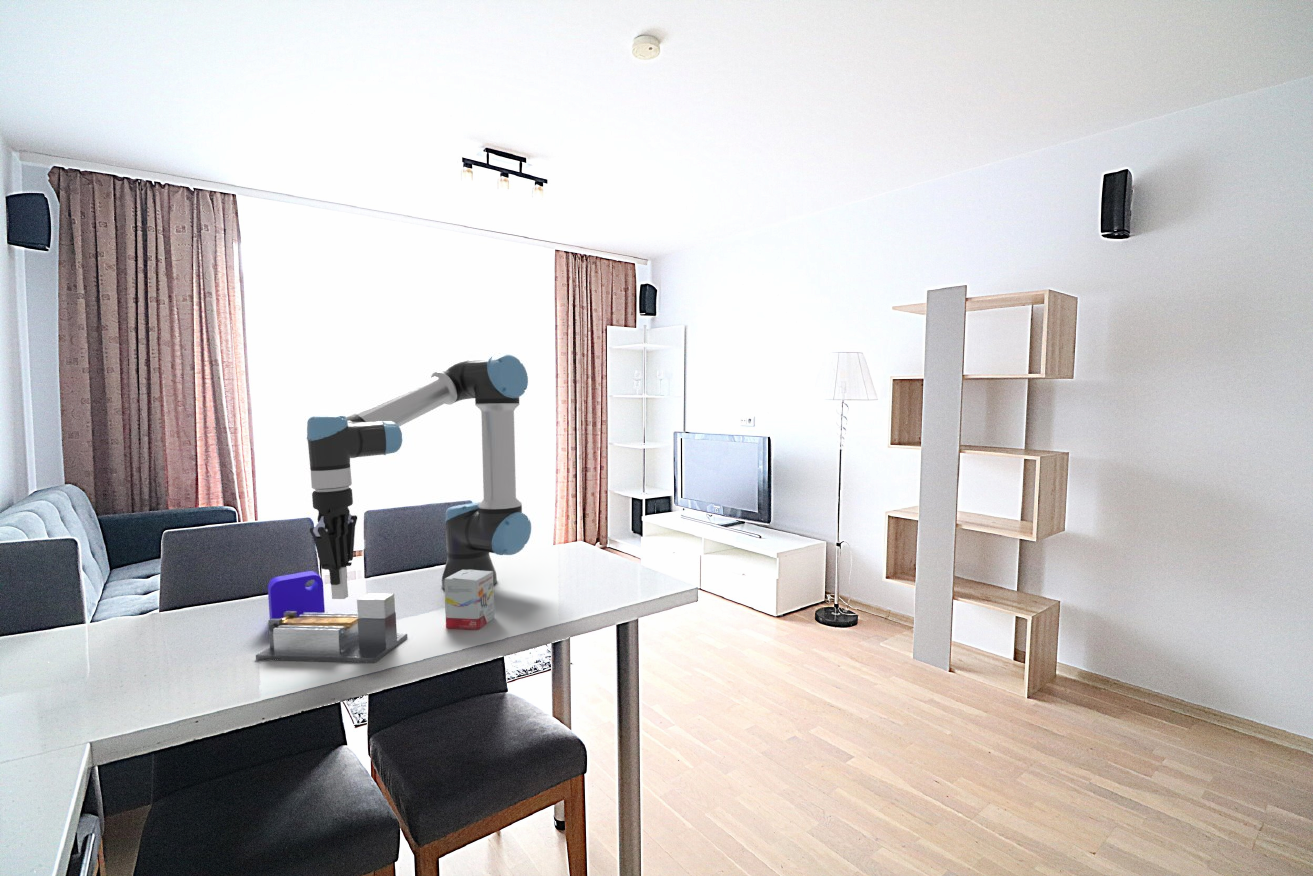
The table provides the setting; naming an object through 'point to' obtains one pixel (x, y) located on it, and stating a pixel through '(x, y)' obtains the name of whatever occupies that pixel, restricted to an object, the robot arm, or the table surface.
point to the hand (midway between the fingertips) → (340, 597)
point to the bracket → (295, 594)
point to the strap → (319, 621)
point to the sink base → (359, 652)
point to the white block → (376, 606)
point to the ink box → (469, 599)
